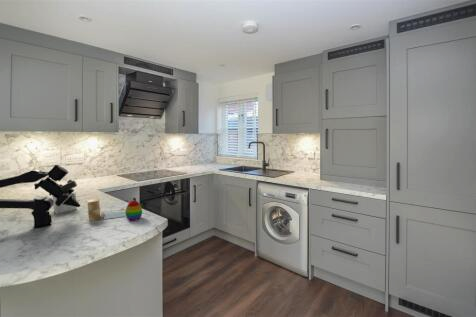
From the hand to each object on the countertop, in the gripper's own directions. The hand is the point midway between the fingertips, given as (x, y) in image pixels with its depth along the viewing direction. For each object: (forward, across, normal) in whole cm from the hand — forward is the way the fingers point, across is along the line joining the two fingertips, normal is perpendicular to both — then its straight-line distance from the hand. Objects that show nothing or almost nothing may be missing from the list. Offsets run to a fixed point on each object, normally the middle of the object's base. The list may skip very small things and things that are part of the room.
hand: (79, 206), depth 132 cm
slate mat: (+16, 0, -6) cm, 18 cm away
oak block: (+10, 0, +1) cm, 10 cm away
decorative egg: (+24, -11, -13) cm, 29 cm away
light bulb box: (-2, +26, +13) cm, 30 cm away
